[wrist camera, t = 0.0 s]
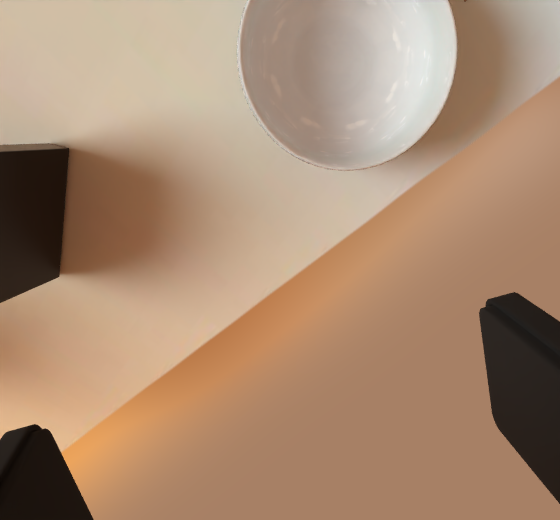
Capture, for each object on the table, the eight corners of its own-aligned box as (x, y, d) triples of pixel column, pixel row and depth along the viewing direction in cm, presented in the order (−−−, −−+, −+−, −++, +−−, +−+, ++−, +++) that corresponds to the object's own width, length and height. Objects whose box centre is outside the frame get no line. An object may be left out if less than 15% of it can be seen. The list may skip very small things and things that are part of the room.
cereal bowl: (462, 63, 45) (503, 57, 38) (331, 197, 47) (349, 214, 41) (332, -96, 40) (353, -134, 33) (195, 64, 43) (188, 58, 36)
